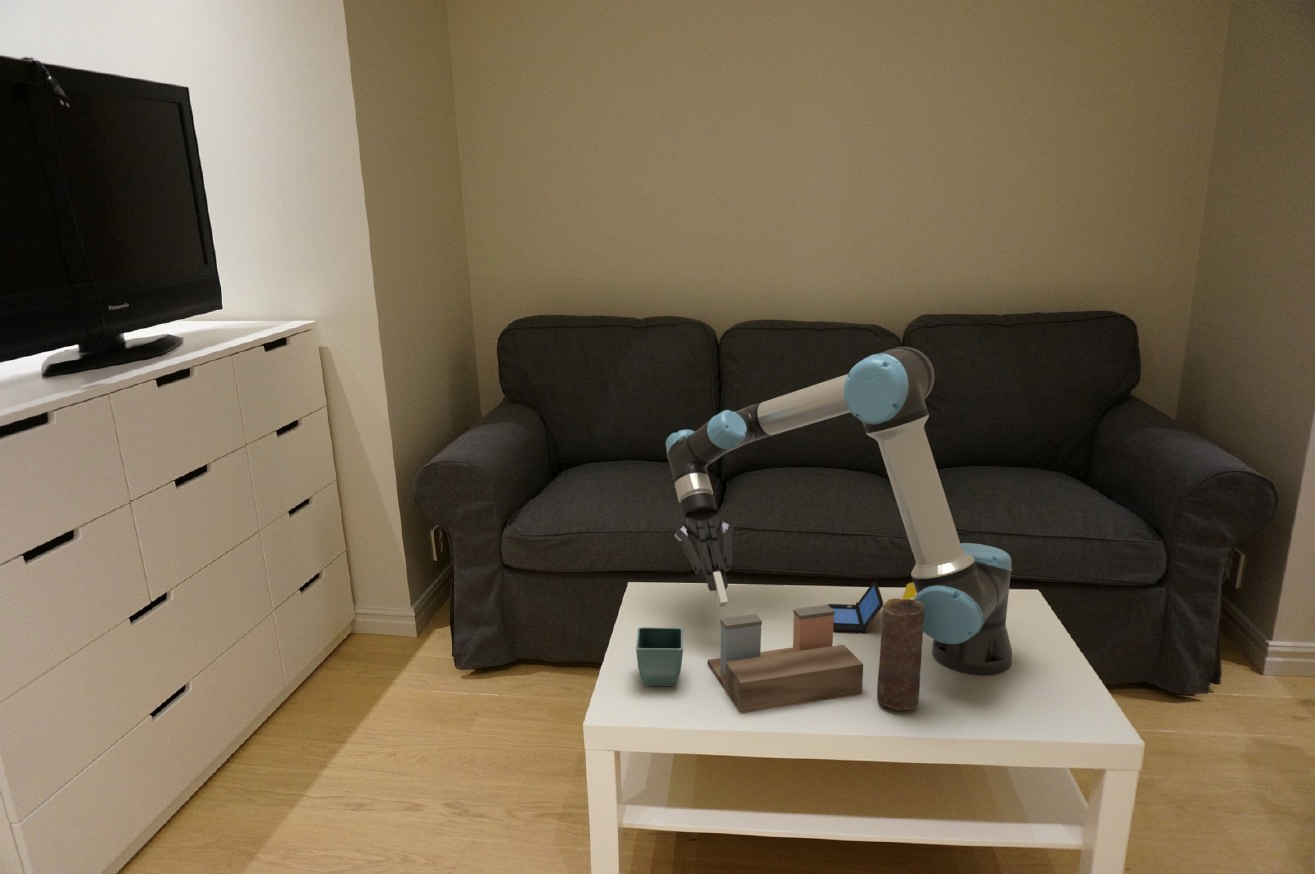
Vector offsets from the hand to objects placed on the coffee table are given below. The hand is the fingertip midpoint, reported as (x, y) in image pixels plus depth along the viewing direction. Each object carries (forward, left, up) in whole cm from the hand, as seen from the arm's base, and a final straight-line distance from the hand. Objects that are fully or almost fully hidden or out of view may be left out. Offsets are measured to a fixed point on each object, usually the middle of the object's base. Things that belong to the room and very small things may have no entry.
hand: (722, 604), depth 182 cm
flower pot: (+6, +15, -11) cm, 19 cm away
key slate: (-7, +6, -10) cm, 13 cm away
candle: (-36, +2, -11) cm, 38 cm away
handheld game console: (-18, -28, -12) cm, 35 cm away
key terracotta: (-17, -5, -10) cm, 20 cm away
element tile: (-33, -39, -12) cm, 53 cm away
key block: (-14, +3, -11) cm, 18 cm away
